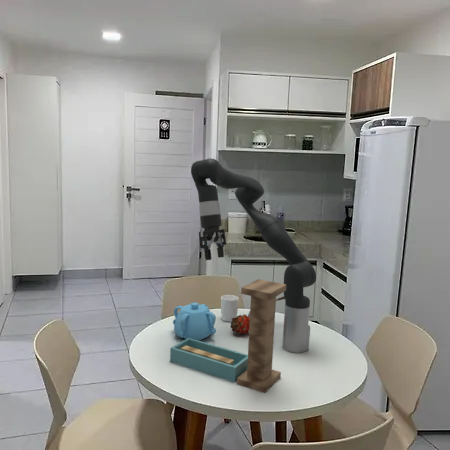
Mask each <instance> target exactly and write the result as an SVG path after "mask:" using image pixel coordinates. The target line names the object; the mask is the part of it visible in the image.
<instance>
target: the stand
mask: <svg viewBox="0 0 450 450" xmlns="http://www.w3.org/2000/svg"><path fill="white" fill-rule="evenodd" d="M284 291H286V284H284V283H280V282H274V281H270V280H264V279H259V278H258V279H256V280H254V281H252V282H250V283H248V284H245V285H244V286H241V287H240V294H241V295H246V296H250V308H249V312H250V325H249V333H248V345H247V348H248V349H247V355H248V364H247V370H246V371H245V372H244V373H243V374H241V375H240V376H239V377H238V378H237V381H236V385H238V386H241V387H245V388H248V389H251V390H254V391H256V392H260V393H263V394H266V393H267V392H268V391H269V390H270V389H271V388H272V387H273V386H274V385H275V384H276V383H277V382H278V381H279V380H280V379H281V374H282V372H281V371H278V370H275V369H273V359H274V358H273V357H274V353H273V352H274V341H275V340H274V337H275V322H276V321H275V320H276V305H277V304H276V303H277V301H276V299H277V297H278V296H279V295H281V294H282V293H283V294H284Z"/></svg>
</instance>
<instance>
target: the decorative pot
mask: <svg viewBox="0 0 450 450" xmlns="http://www.w3.org/2000/svg"><path fill="white" fill-rule="evenodd" d="M178 309H180V310H179V312H178ZM173 314H174V319H173V320H172V324H173V331H174V333H175V334H176V336H178V337H179V338H180V339H184V340H185V339H187V338H191V339H194V340H198V341H201V340H203V339H206V338H208V337H209V336H210V335H214V334H216V332H217V329H216V328H215V324H216V319H217V318H216V315H215V314H214V312H212V311H211V310H210V308H209V307H208V305H207V304H205V303H201V304H200V303H199V302H191V303H189V304H186V305H184V306H183V305H178V306H175V307H174V310H173Z"/></svg>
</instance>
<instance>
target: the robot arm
mask: <svg viewBox="0 0 450 450" xmlns="http://www.w3.org/2000/svg"><path fill="white" fill-rule="evenodd" d="M190 174H191V178H192V179H193V182H194V186H195V187H196V190H197V194H198V202H199V206H198V211H199V219H200V228H202V229H204V230H201V231H199V232H198V239H199V249H202V250H204V251H203V252H204V259H205V261H211V260H212V259H213V257H212V250H211V247H212V245H213V243H214V244H215V246H216V247H217V248H216V252H217V258H224V257H225V254H224V252H225V251H224V247H225V245H227V239H226V232H225V229H224V228H220V227H222V226H223V225H222V215H221V208H220V203H219V195H218V187H220V188H221V189H226V190H231V189H235V191H234V195H235V198H236V199H237V201H238V202H239V204H240V205H241V206H242V208H243V209H244V210H245V212H246V213H247V214H248V216H249V217H250V219H251V220H252V222H253V223H254V224H255V227H256V228H257V229H258V232H259V234H261V237H262V239H263V241H265V244H267V246H268V247H270V248H271V249H272V250H273V251H275V252H276V254H277V253H278V254H279V255H280V256H282V257H283V258H284V259H285V260H286V261H287V262H288V264H289V265H288V266H287V267H286V268H285V270H284V273H283V274H284V275H283V284H286V291H284V292H283V297H284V298H285V299H284V302H285V303H284V315H283V316H284V317H283V318H284V319H283V334H282V348H283V350H285V351H287V352H290V353H295V354H297V353H298V354H299V353H300V354H301V353H304V352H306V351H309V349H310V338H311V325H310V324H309V322H310V321H309V319H310V307H311V306H310V305H311V303H310V302H311V301H310V300H311V299H310V298H309V297H308V296H306V295H304V289H305V288H308V287H311V286H313V285H314V284H315V283H316V281H317V273H316V269H315V268H314V266H313V265H312V263H311V262H310V261H309V260H308V259H307V258H306V256H305V255H304V254H303V252H301V250H300V249H299V247H298V246H297V245H296V243H295V242H294V241H293V239H292V238H291V236H290V235H289V232H287V230H286V228H285V227H284V225H283V224H282V222H281V221H280V220H279V219H278V218H277V217H275V216H273V215H271V214H267V213H264V212H263V211H259V209H257V208H256V207H255V206H254V204H255V203H256V202H257V201H258V200H259V199H260V198H261V197H262V196H264V193H265V189H264V187H263V185H262V184H261V183H260V182H259V181H258V180H256V179H255V178H253V177H250V176H247V175H243V174H238V173H235V172H232V171H230V170H228V169H227V168H224V167H223V166H222V164H221V163H220V161H218V160H217V159H215V158H206V159H201V160H197V161H195V162H193V163H192V164H191V168H190ZM208 179H209V181H210V182H211V183H212V184H209V183H208V182H207V180H208ZM213 184H214V185H213ZM217 186H218V187H217Z"/></svg>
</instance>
